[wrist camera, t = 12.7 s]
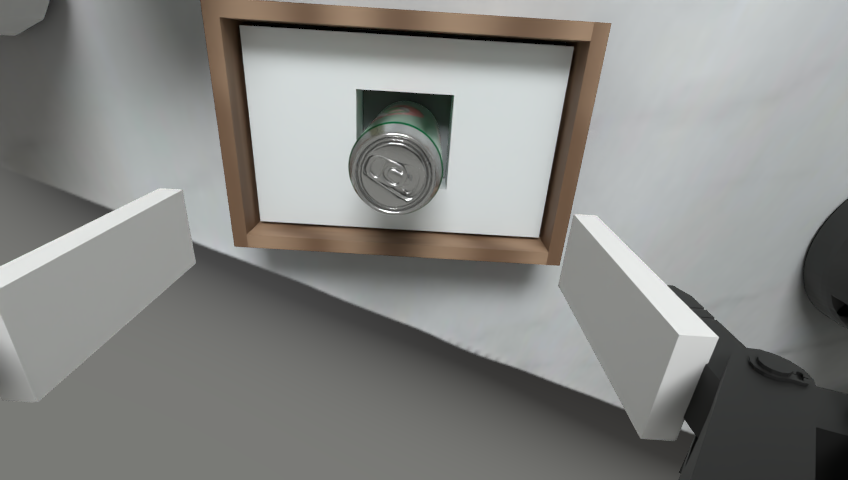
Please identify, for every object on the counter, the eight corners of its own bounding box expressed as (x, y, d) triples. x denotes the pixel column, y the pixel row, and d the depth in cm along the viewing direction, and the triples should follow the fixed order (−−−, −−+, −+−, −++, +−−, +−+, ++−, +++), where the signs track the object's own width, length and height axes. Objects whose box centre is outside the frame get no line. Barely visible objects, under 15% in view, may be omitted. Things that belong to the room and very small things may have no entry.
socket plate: (560, 47, 30) (574, 46, 27) (530, 223, 35) (538, 237, 32) (257, 27, 29) (239, 25, 27) (273, 207, 35) (260, 221, 32)
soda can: (422, 177, 34) (417, 236, 23) (363, 149, 33) (330, 197, 22) (450, 118, 32) (461, 152, 21) (389, 87, 31) (366, 106, 20)
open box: (583, 27, 29) (611, 23, 25) (543, 238, 36) (559, 265, 31) (236, 5, 29) (199, -4, 24) (259, 221, 35) (234, 246, 31)
